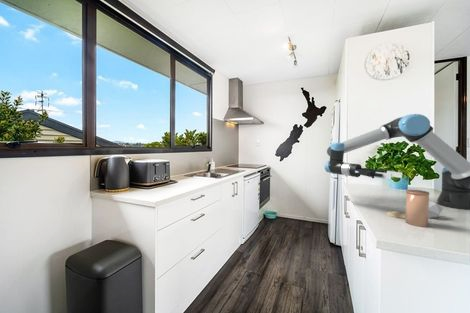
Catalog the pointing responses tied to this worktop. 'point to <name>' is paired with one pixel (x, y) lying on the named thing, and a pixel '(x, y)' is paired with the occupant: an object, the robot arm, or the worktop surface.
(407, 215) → the jar
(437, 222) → the worktop surface
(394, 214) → the disc
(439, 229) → the worktop surface
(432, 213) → the die
